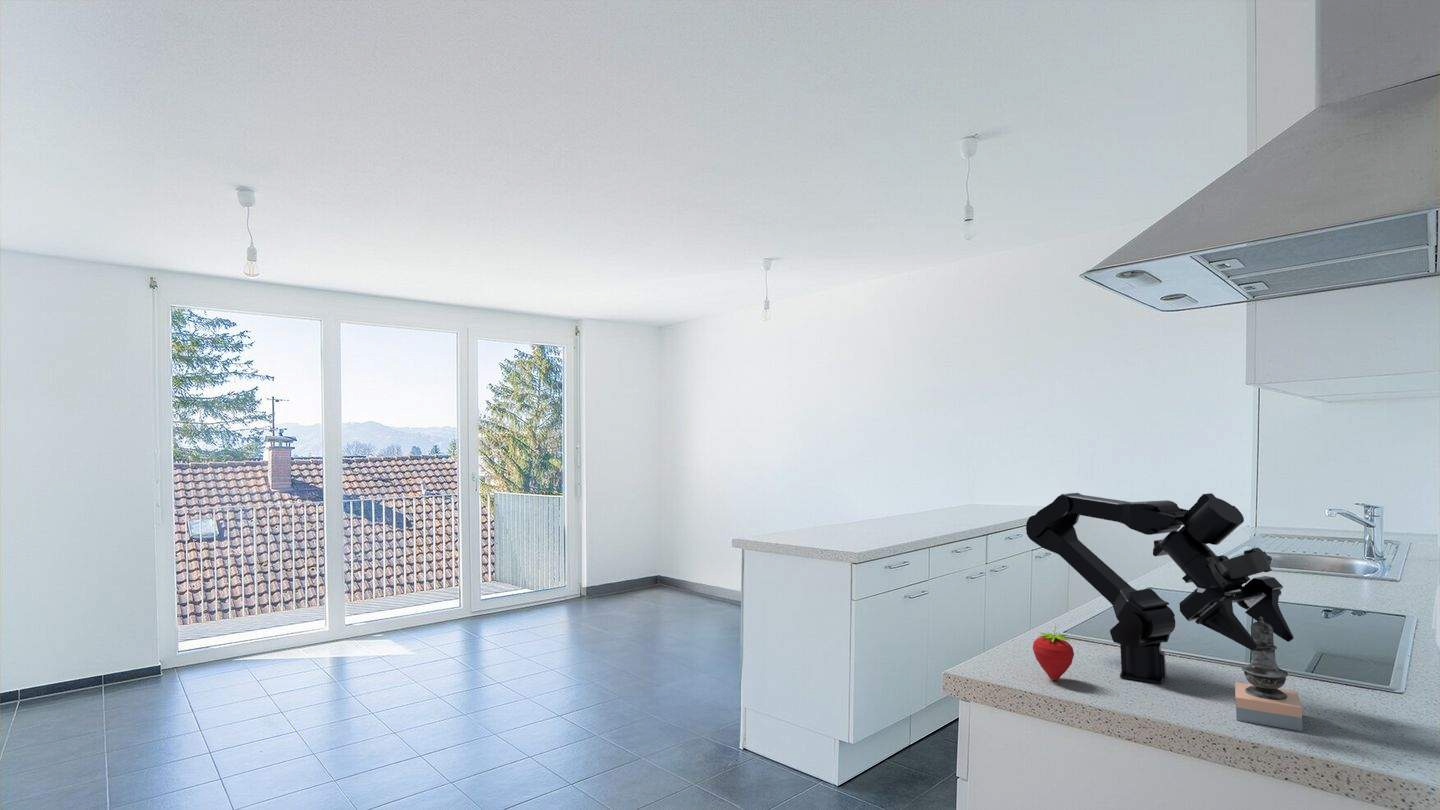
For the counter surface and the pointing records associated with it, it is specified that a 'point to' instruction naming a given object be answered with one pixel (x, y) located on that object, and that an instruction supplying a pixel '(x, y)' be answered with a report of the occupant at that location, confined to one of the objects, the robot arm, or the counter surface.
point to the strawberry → (1053, 654)
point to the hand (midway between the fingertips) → (1273, 644)
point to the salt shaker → (1264, 665)
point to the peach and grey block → (1269, 709)
